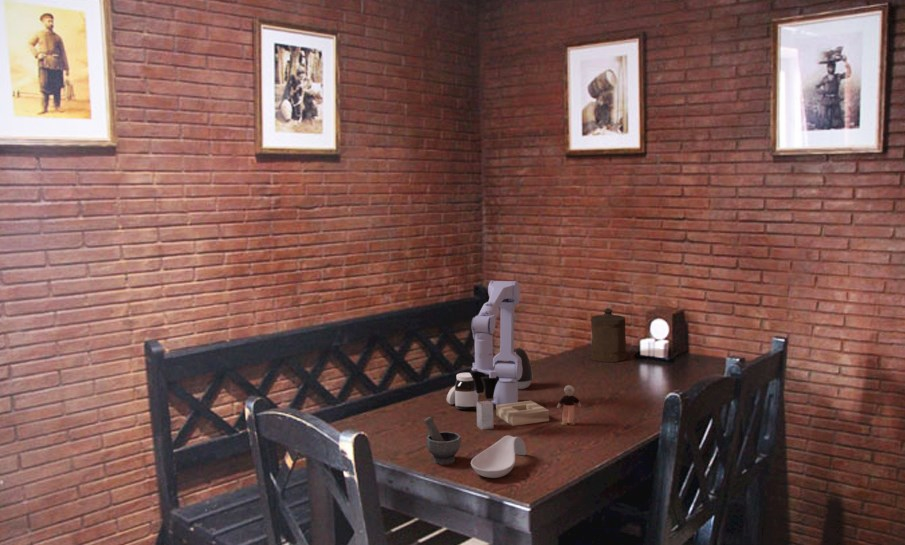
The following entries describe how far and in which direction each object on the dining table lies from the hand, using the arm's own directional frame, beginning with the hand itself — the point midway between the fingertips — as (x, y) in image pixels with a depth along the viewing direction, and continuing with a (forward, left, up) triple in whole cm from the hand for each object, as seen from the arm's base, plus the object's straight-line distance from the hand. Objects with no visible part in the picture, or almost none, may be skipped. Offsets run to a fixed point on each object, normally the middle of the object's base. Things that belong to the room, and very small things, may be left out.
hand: (484, 395), depth 256 cm
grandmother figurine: (+8, +26, -10) cm, 29 cm away
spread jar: (-25, +2, -11) cm, 27 cm away
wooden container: (-68, +87, -11) cm, 111 cm away
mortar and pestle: (+23, -23, -11) cm, 34 cm away
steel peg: (0, 0, -10) cm, 10 cm away
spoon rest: (+35, -10, -11) cm, 38 cm away
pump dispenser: (-40, +31, -11) cm, 52 cm away
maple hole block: (-4, +15, -10) cm, 19 cm away
